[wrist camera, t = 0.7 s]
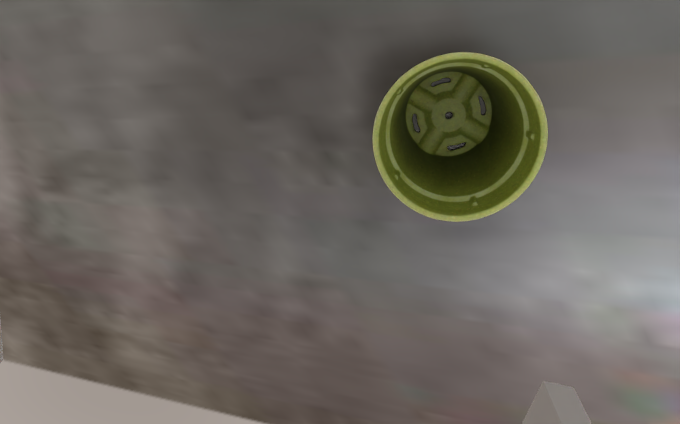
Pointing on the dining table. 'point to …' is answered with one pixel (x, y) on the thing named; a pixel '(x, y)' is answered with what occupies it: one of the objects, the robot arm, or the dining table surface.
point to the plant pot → (460, 137)
